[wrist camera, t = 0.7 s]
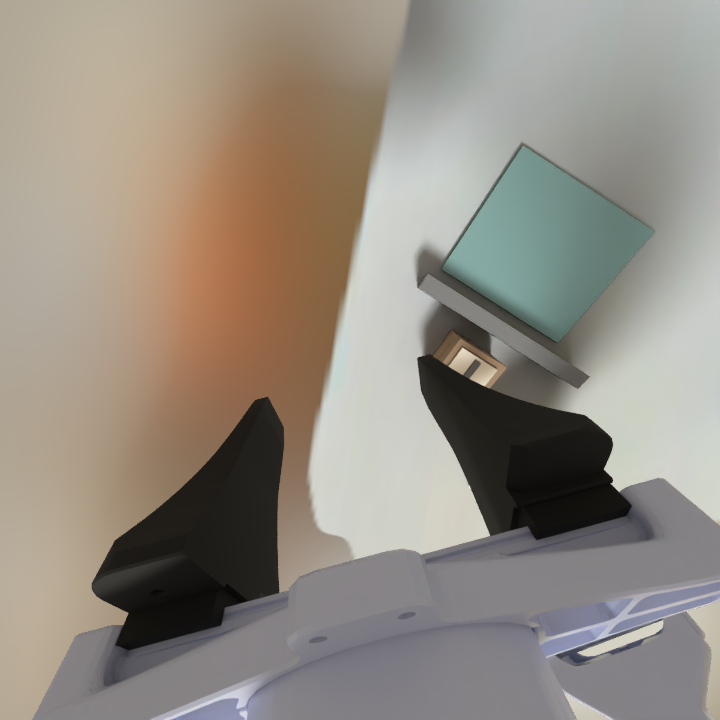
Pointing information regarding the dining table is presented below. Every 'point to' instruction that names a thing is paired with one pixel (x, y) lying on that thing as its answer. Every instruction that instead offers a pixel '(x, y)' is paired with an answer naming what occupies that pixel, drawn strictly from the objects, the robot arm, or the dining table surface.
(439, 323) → the dining table surface
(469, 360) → the letter cube
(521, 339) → the long grey bar
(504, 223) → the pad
